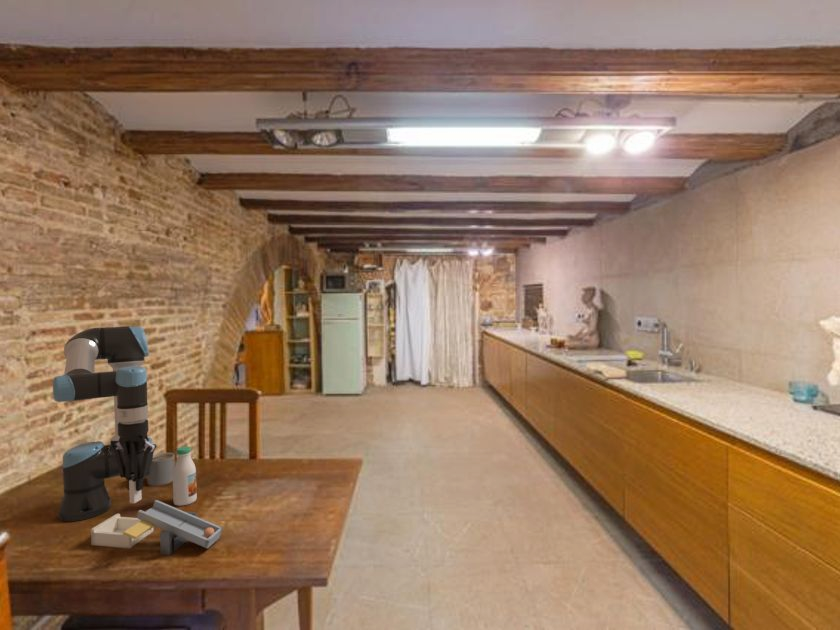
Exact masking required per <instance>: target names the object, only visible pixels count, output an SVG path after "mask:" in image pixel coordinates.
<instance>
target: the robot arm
mask: <svg viewBox="0 0 840 630" xmlns="http://www.w3.org/2000/svg"><path fill="white" fill-rule="evenodd" d="M147 340H148V339H147V336H146V332H145V330H144V328H143V327H142V326H130V325H128V326H109V327H108V326H107V327H93V328H88V329H85V330H83V331H80V332H78V333H76V334H75V335H73V336H72V337H71V338H70V339H68V341H67V342H66V343H65V344H64V348H63V356H64V358H65V364H64V365H65V367H64V373H63V375H57V376H54V378H53V380H52V394H53V400H54V401H55V402H57V403H61V402H62V403H65V402H69V403H71V402H74V401H84V400H93V399H103V398H111V397H113V404H114V405H113V408H114V409H113V410H114V411H113V412H114V435H113V436H112V437H111V438H110V444H104V442H103V441H99V440H97V441H90V442H89V441H88V442H86V443H85V442H84V443H81V444H79V445H76V446H73V447H71V448H69V449H68V450H66V451H65V452H64V453H63V455H62V465H61V468H62V476H63V477H62V479H63V480H62V481H63V483H62V484H63V495H62V499H61V502H60V506H59V508H58V510H57V519H58V520H59V521H62V522H78V521H84V520H88V519H91V518H94V517H96V516H99V515H102V514H104V513H106V512H107V511H108V510H110V508H111V507H112V498H111V496H110V495H109V492H108V490H107V487H106V486H105V484H106V483H105V479H106V480H107V479H110V478H115V477H119V476H120V478H124V479H126V483H127V484H126V485H127V491H128V492H129V504H136V503H137V502H139V501H141V500H142V499H143V498H142V496H143V495H142V493H143V492H142V490H144V478H147V476H148V475H149V474H150V469H151V463H152V458H153V455H154V453H155V450H156V449H157V447H158V446H157V444H156V443H153V438H151V437H149V435H148V433H149V431H150V430H149V420H148V418H149V405H148V403H149V402H148V375H147V368H145V367H144V366H142V365H143V364H144V363H145V358H146V357H148V356H149V355H150V352H149V344H148V341H147ZM96 360H107V365H108V367H110V368H112V370H111V371H102V372H95V371H96V369H95V365H96V364H95V363H96Z"/></svg>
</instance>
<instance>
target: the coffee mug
mask: <svg viewBox="0 0 840 630" xmlns="http://www.w3.org/2000/svg"><path fill="white" fill-rule="evenodd" d="M175 456H176V455H175V453H173V452H160V453H155V454H154V453H153V458H152V463H151V469H150V474H149V475H148V476H146V481H147V483H146V484H147V485H149V486H153V487H157V486H163V485H168V484H170V483H173V469H174V466H175V464H176V462H175Z"/></svg>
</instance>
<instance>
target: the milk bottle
mask: <svg viewBox="0 0 840 630" xmlns="http://www.w3.org/2000/svg"><path fill="white" fill-rule="evenodd" d="M191 453H192V448H191V446H181V447H180V446H179V447H178V448H176V456H177V459H176V462H175V466H174V469H173V481H172V496H173V497H172V499H173V501H172V502H173V505H175V506H180V507H181V506H187V505H190V504H193V503H195V502H196V501H197V498H198V497H197V496H198V493H197V492H198V491H197V488H198V487H197V485H198V484H197V468H196V465H195V462H194V461H193V459H192V457H191Z"/></svg>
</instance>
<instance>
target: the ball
mask: <svg viewBox="0 0 840 630" xmlns="http://www.w3.org/2000/svg"><path fill="white" fill-rule="evenodd" d="M212 534H214V529H213V528H207V529H205V531H204V537H205V538H209V537H210V536H211V535H212Z"/></svg>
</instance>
